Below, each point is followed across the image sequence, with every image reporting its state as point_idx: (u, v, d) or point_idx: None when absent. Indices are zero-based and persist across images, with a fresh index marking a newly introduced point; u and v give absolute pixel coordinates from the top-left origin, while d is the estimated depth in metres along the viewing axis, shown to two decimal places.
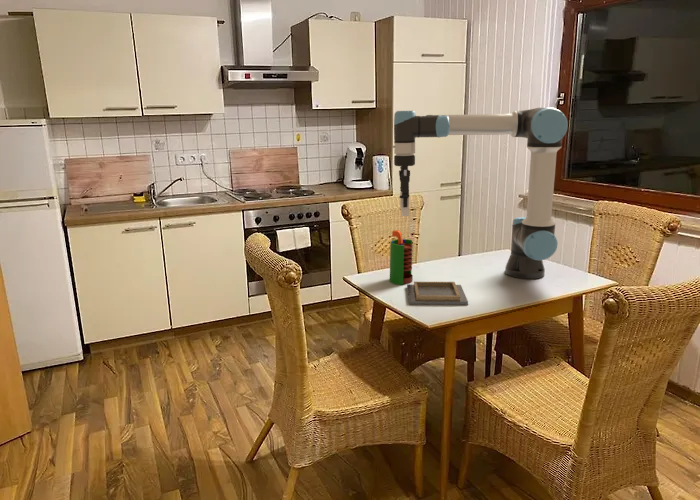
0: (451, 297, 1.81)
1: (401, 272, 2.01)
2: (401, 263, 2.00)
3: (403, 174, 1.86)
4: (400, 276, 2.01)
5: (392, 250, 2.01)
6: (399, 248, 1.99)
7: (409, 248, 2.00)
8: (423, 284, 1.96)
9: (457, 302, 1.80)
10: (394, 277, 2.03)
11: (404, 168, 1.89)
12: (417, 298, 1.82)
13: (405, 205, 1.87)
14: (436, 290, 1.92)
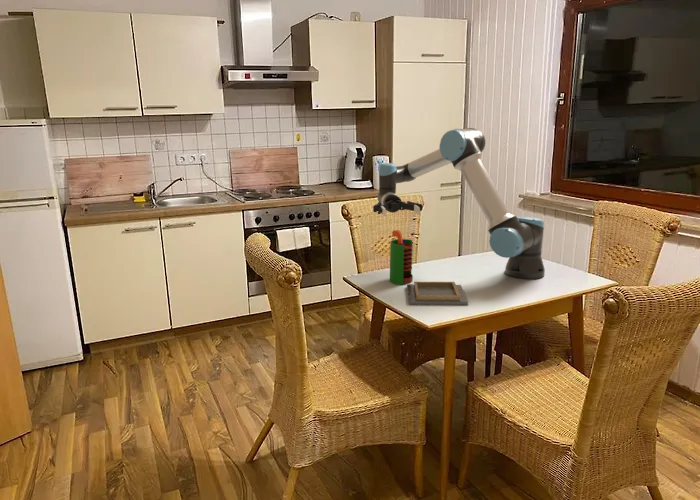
0: (451, 297, 1.81)
1: (401, 272, 2.01)
2: (401, 263, 2.00)
3: None
4: (400, 276, 2.01)
5: (392, 250, 2.01)
6: (399, 248, 1.99)
7: (409, 248, 2.00)
8: (423, 284, 1.96)
9: (457, 302, 1.80)
10: (394, 277, 2.03)
11: None
12: (417, 298, 1.82)
13: (379, 210, 2.10)
14: (436, 290, 1.92)
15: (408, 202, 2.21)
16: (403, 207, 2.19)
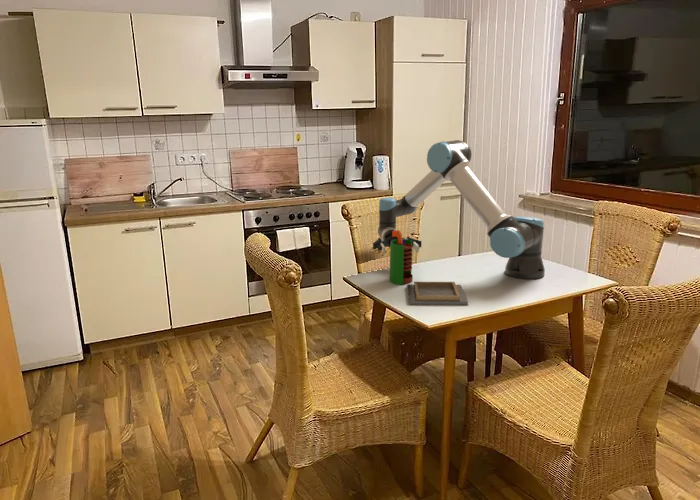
0: (451, 297, 1.81)
1: (401, 272, 2.01)
2: (401, 263, 2.00)
3: None
4: (400, 276, 2.01)
5: (392, 250, 2.01)
6: (399, 248, 1.99)
7: (409, 248, 2.00)
8: (423, 284, 1.96)
9: (457, 302, 1.80)
10: (394, 277, 2.03)
11: None
12: (417, 298, 1.82)
13: (378, 248, 2.13)
14: (436, 290, 1.92)
15: (408, 238, 2.24)
16: None
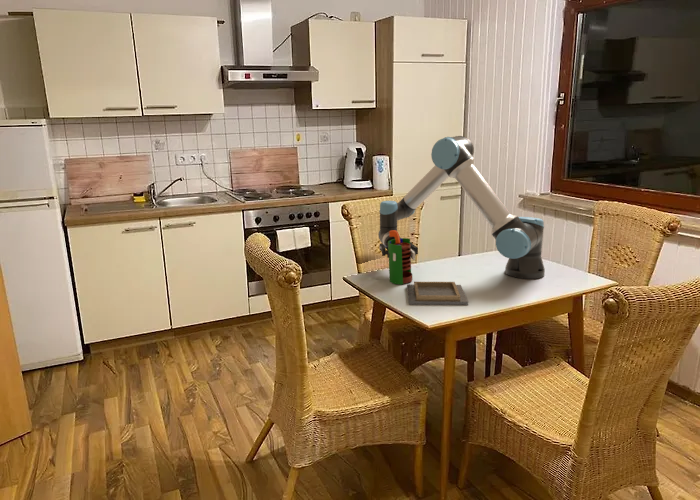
0: (451, 297, 1.81)
1: (400, 272, 2.00)
2: (400, 263, 2.00)
3: (380, 249, 2.13)
4: (399, 276, 2.01)
5: (390, 250, 2.01)
6: (397, 248, 1.98)
7: (407, 247, 2.00)
8: (423, 284, 1.96)
9: (457, 302, 1.80)
10: (394, 277, 2.03)
11: None
12: (417, 298, 1.82)
13: (388, 254, 2.02)
14: (436, 290, 1.92)
15: None
16: None
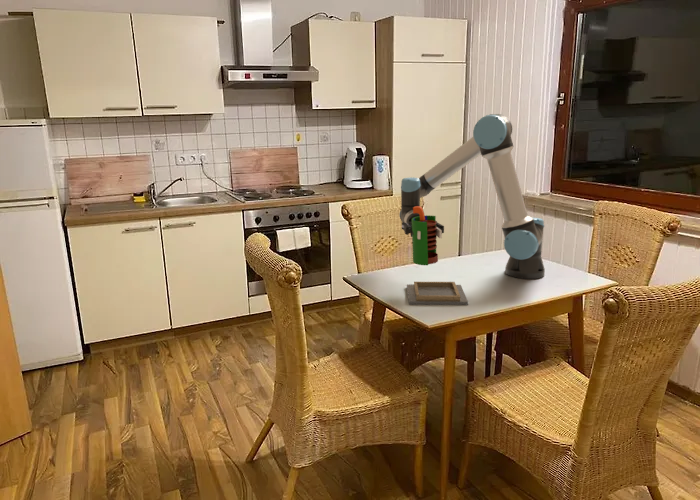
0: (451, 297, 1.81)
1: (425, 251, 1.84)
2: (425, 242, 1.83)
3: (403, 228, 1.97)
4: (424, 256, 1.85)
5: (414, 228, 1.84)
6: (421, 225, 1.82)
7: (432, 225, 1.83)
8: (423, 284, 1.96)
9: (457, 302, 1.80)
10: (418, 257, 1.86)
11: None
12: (417, 298, 1.82)
13: (412, 232, 1.86)
14: (436, 290, 1.92)
15: None
16: None
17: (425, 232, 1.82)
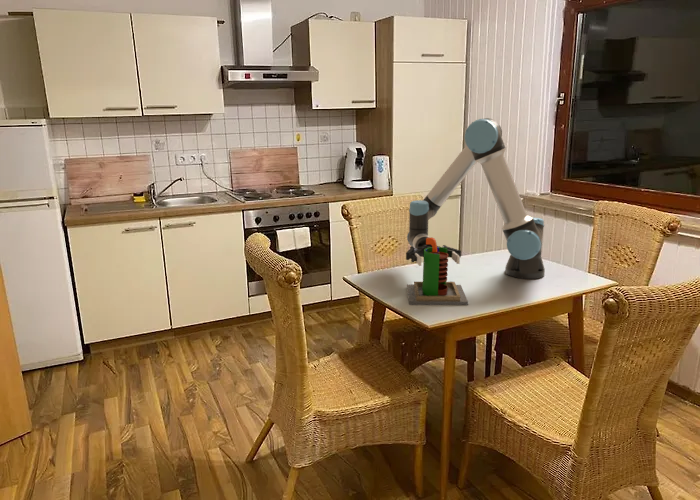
0: (451, 297, 1.81)
1: (436, 283, 1.83)
2: (436, 274, 1.82)
3: None
4: (435, 288, 1.84)
5: (426, 259, 1.84)
6: (434, 257, 1.81)
7: (445, 257, 1.83)
8: None
9: (457, 302, 1.80)
10: (428, 289, 1.85)
11: None
12: (417, 298, 1.82)
13: (413, 258, 1.86)
14: None
15: (444, 247, 1.97)
16: None
17: (437, 264, 1.81)
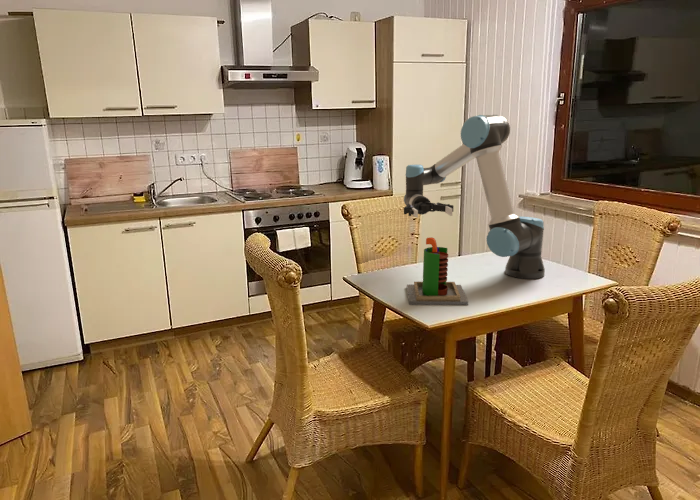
0: (451, 297, 1.81)
1: (436, 283, 1.83)
2: (436, 274, 1.82)
3: None
4: (435, 288, 1.84)
5: (426, 259, 1.84)
6: (434, 257, 1.81)
7: (445, 257, 1.83)
8: None
9: (457, 302, 1.80)
10: (428, 289, 1.85)
11: None
12: (417, 298, 1.82)
13: (410, 212, 2.05)
14: None
15: (438, 203, 2.16)
16: (433, 209, 2.14)
17: (437, 264, 1.81)
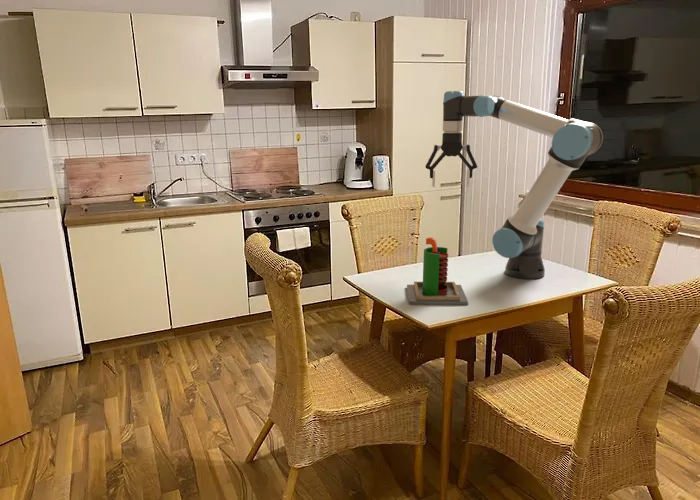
0: (451, 297, 1.81)
1: (436, 283, 1.83)
2: (436, 274, 1.82)
3: None
4: (435, 288, 1.84)
5: (426, 259, 1.84)
6: (434, 257, 1.81)
7: (445, 257, 1.83)
8: None
9: (457, 302, 1.80)
10: (428, 289, 1.85)
11: (442, 144, 2.08)
12: (417, 298, 1.82)
13: (430, 176, 2.11)
14: None
15: (467, 150, 2.07)
16: (459, 156, 2.09)
17: (437, 264, 1.81)
